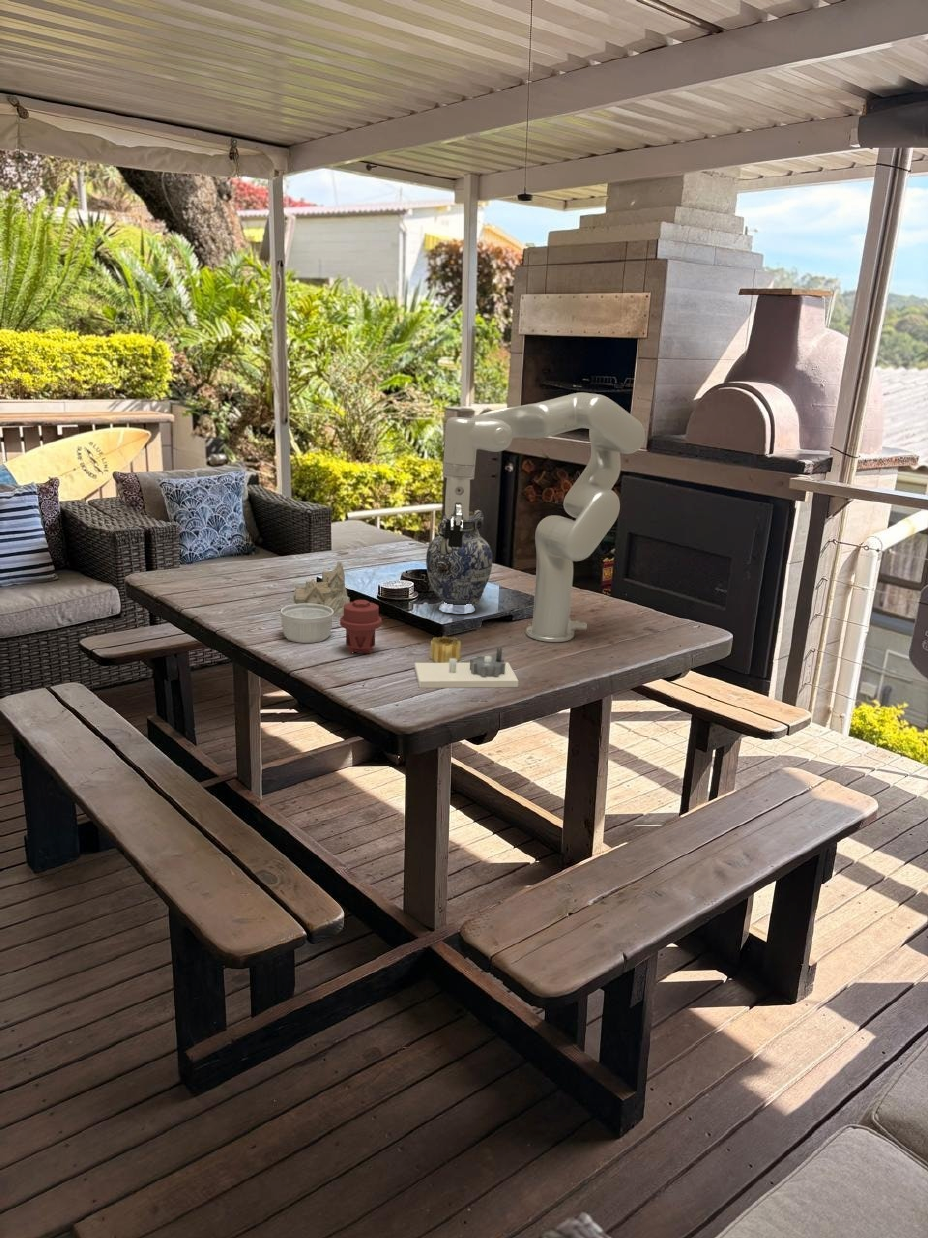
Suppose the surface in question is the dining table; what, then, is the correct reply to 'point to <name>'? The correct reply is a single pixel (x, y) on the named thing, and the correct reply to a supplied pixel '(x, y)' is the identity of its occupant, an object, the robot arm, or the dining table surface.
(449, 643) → the brass gear
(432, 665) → the gear board
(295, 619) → the ramekin
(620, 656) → the dining table surface
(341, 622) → the mechanical component
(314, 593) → the ceramic cottage
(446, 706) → the dining table surface
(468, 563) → the decorative vase
